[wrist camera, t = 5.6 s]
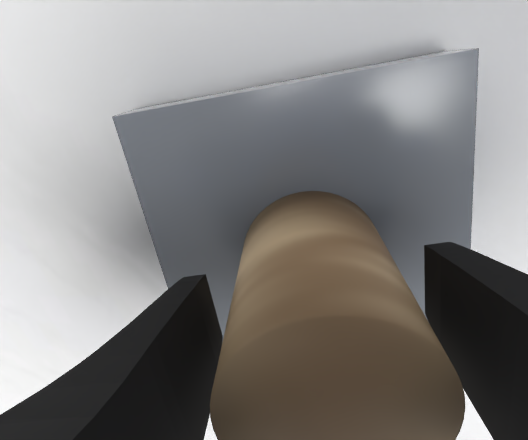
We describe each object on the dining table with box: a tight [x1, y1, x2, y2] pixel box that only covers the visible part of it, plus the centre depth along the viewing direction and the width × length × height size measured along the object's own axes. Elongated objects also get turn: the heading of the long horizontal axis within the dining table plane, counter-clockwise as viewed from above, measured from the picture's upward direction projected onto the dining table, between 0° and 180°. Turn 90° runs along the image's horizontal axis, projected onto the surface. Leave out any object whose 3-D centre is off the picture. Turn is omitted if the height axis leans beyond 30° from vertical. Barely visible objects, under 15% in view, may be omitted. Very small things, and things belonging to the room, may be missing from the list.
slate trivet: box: [113, 48, 479, 342], centre depth 13 cm, size 10×10×2 cm
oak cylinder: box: [210, 191, 465, 440], centre depth 9 cm, size 4×4×6 cm
